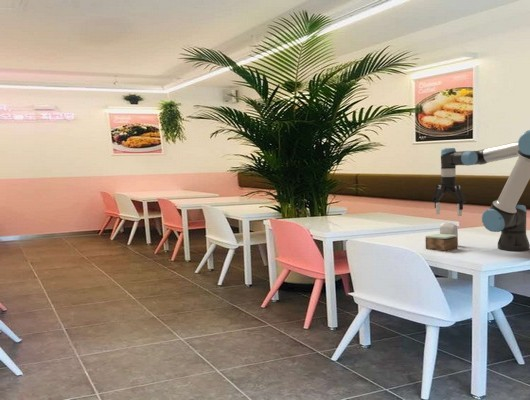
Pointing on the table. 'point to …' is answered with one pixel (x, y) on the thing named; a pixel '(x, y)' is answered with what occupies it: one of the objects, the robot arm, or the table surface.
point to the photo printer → (448, 229)
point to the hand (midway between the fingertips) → (448, 215)
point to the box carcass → (442, 244)
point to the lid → (441, 236)
